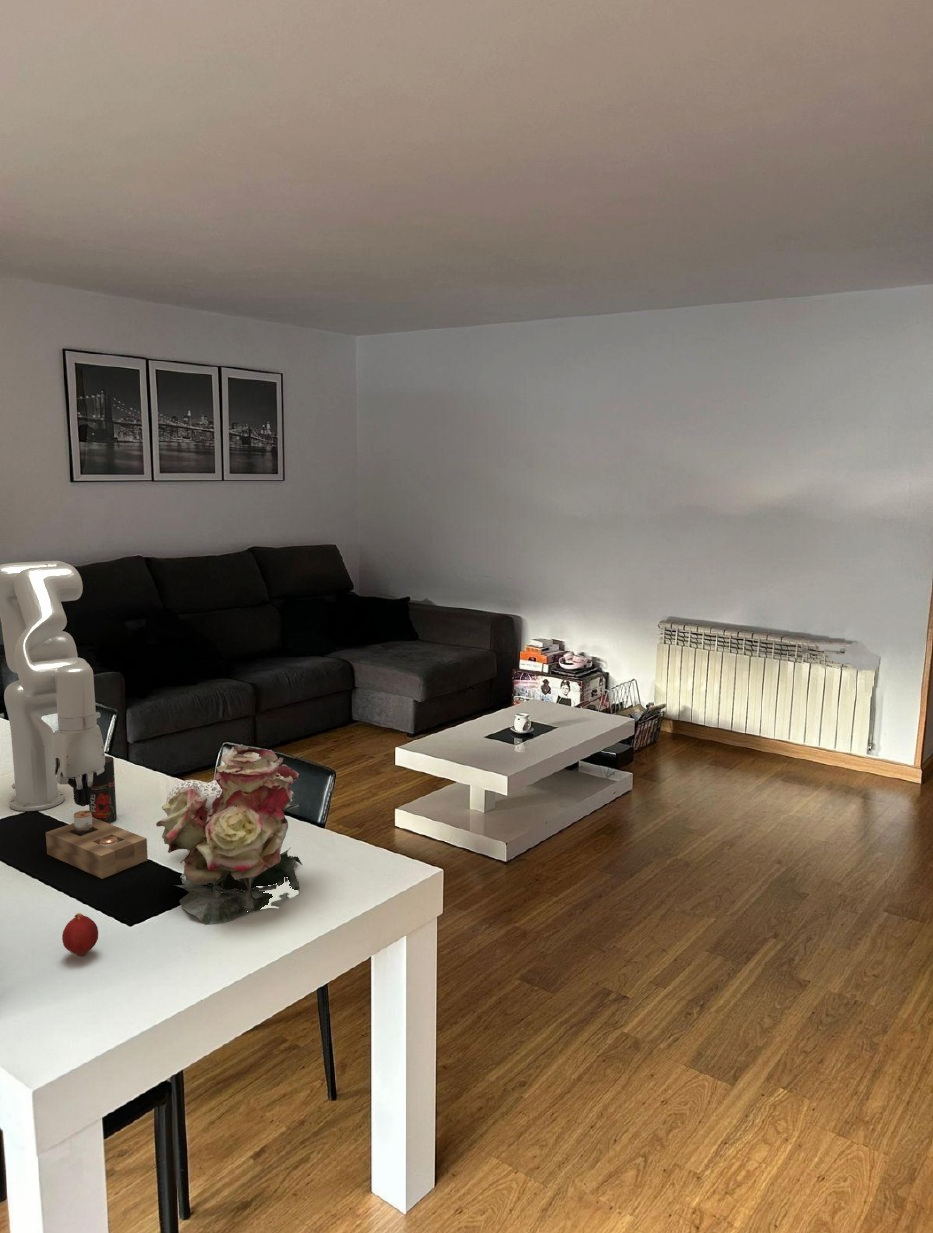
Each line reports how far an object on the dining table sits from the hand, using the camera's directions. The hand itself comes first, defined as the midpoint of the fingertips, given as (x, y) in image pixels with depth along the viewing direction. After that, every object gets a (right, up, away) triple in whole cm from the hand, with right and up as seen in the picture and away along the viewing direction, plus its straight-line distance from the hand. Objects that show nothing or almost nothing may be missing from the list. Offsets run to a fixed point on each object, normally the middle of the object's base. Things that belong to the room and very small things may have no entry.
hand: (82, 804), depth 199 cm
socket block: (+3, -11, 0) cm, 12 cm away
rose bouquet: (+38, -15, -15) cm, 43 cm away
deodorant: (-3, -8, +20) cm, 22 cm away
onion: (+16, -19, -39) cm, 46 cm away
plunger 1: (0, -7, +2) cm, 7 cm away
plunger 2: (+7, -12, -3) cm, 14 cm away
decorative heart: (+27, -12, +3) cm, 30 cm away
